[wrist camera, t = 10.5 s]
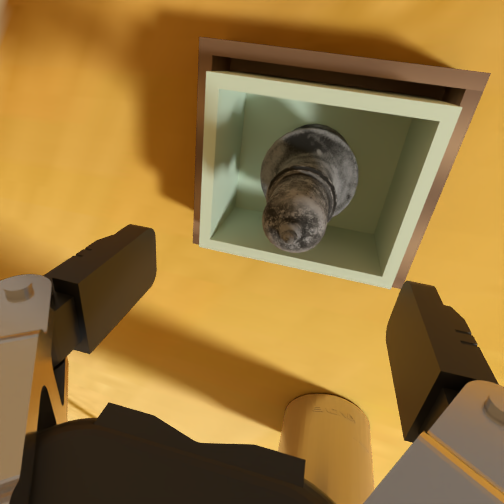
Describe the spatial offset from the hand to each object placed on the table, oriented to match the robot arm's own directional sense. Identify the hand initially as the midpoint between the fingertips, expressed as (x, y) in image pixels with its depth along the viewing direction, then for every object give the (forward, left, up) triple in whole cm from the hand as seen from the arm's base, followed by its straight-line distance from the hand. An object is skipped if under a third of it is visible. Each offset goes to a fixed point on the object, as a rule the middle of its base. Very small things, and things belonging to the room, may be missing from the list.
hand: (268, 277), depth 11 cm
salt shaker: (0, 0, -15) cm, 15 cm away
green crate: (0, 0, -15) cm, 15 cm away
